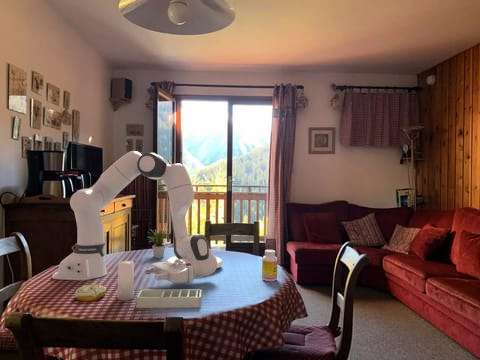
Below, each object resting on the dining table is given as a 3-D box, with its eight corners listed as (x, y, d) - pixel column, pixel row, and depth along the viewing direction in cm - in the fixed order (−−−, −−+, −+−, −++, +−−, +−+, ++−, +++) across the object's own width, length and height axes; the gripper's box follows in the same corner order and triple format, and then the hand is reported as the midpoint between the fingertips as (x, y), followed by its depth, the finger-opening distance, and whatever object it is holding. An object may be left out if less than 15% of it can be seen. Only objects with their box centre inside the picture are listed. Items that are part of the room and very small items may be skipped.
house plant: (146, 253, 211) (147, 225, 211) (171, 253, 213) (171, 225, 213) (143, 259, 197) (143, 228, 197) (169, 259, 199) (169, 228, 198)
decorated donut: (69, 302, 131) (69, 291, 131) (82, 292, 142) (82, 283, 142) (99, 302, 131) (99, 292, 131) (109, 293, 142) (109, 283, 142)
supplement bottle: (274, 282, 159) (275, 252, 158) (260, 280, 161) (260, 251, 161) (278, 278, 165) (279, 249, 165) (264, 276, 167) (264, 248, 167)
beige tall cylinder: (115, 300, 133) (116, 264, 133) (119, 295, 139) (120, 260, 139) (131, 300, 134) (132, 264, 133) (135, 295, 139) (135, 260, 139)
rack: (136, 307, 126) (136, 297, 126) (141, 298, 135) (141, 289, 135) (200, 307, 128) (200, 297, 127) (201, 298, 136) (201, 289, 136)
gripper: (169, 257, 159) (139, 261, 150) (194, 267, 143) (162, 272, 134) (169, 271, 159) (139, 276, 150) (194, 283, 143) (162, 289, 135)
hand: (150, 274), depth 142 cm, fingers open, 8 cm apart
